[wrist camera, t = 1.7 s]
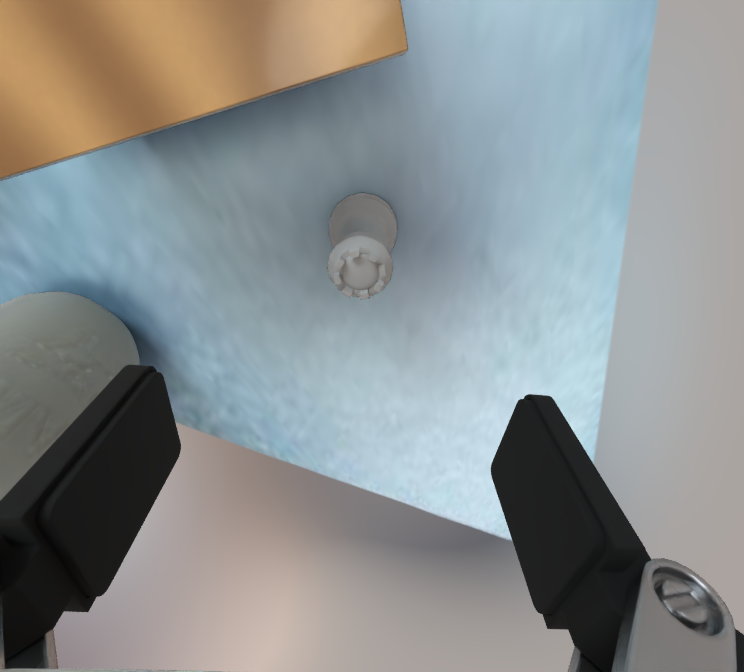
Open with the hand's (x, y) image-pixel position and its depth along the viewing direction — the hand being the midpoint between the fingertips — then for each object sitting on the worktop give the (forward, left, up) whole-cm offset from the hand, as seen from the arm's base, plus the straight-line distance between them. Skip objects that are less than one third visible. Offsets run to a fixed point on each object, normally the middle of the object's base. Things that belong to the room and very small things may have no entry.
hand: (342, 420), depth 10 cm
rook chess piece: (0, 0, -17) cm, 17 cm away
